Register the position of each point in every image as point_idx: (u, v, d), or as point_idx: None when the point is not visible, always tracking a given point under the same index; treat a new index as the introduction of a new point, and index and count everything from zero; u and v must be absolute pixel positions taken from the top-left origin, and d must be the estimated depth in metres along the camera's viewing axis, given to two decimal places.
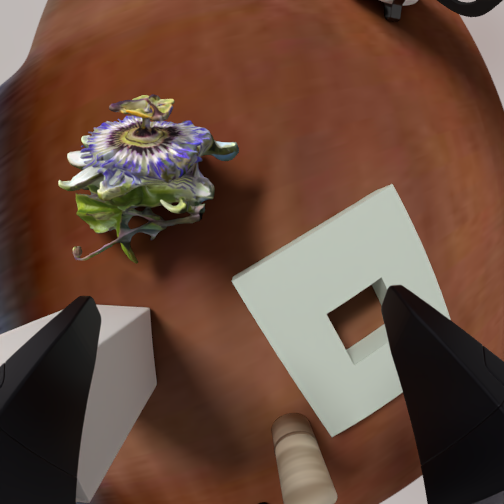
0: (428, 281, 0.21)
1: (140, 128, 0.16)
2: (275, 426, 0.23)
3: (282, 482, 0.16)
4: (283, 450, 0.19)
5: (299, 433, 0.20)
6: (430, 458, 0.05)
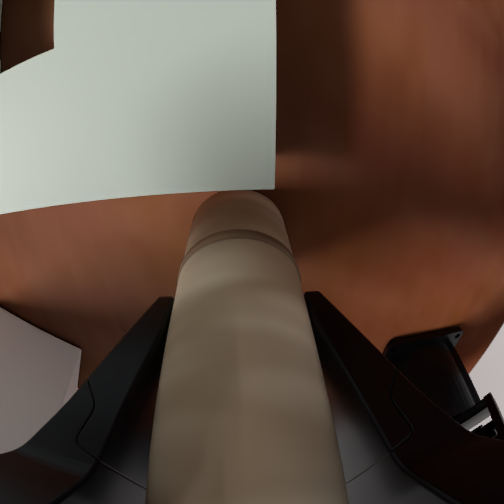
0: None
1: None
2: None
3: None
4: None
5: (183, 264, 0.08)
6: None
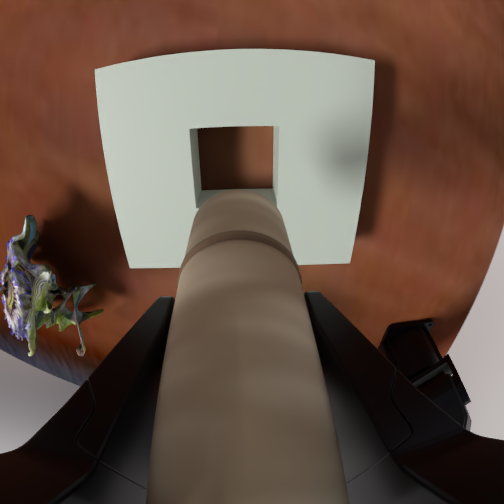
0: (236, 62, 0.13)
1: (3, 293, 0.17)
2: None
3: None
4: None
5: (183, 266, 0.08)
6: None
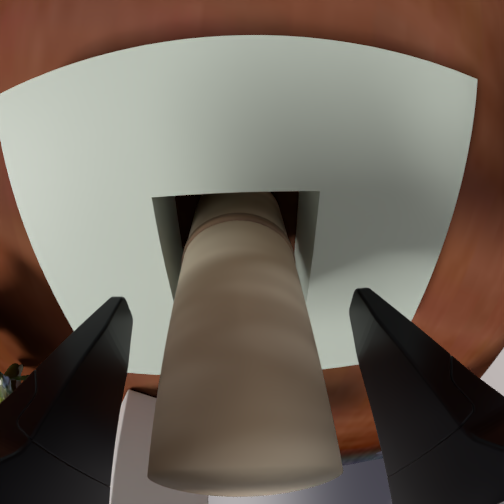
0: (239, 64, 0.06)
1: None
2: None
3: None
4: None
5: (187, 246, 0.09)
6: (396, 471, 0.05)
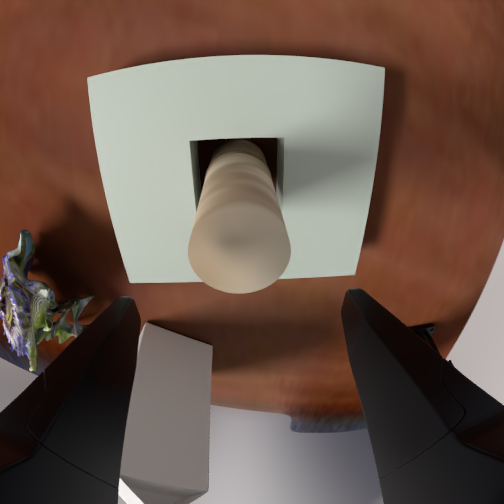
0: (239, 70, 0.13)
1: (1, 309, 0.16)
2: None
3: None
4: None
5: (209, 168, 0.15)
6: (387, 474, 0.05)
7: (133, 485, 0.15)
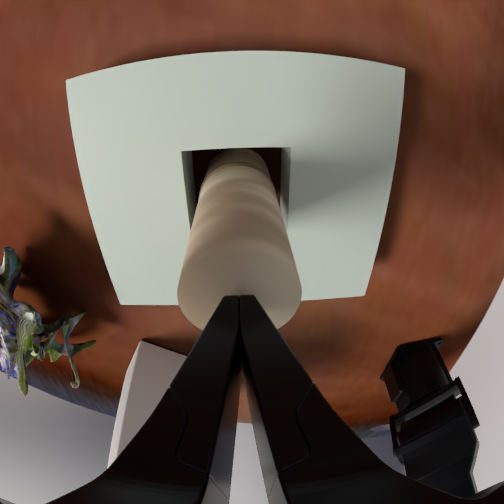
0: (239, 68, 0.11)
1: None
2: None
3: None
4: None
5: (204, 183, 0.13)
6: (269, 496, 0.05)
7: None
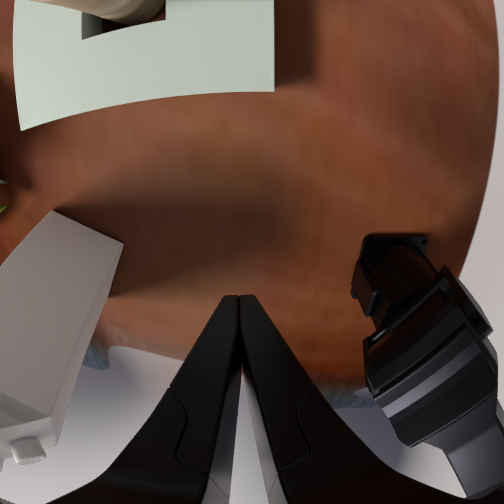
0: None
1: None
2: None
3: (53, 3, 0.06)
4: None
5: None
6: (269, 495, 0.05)
7: None
